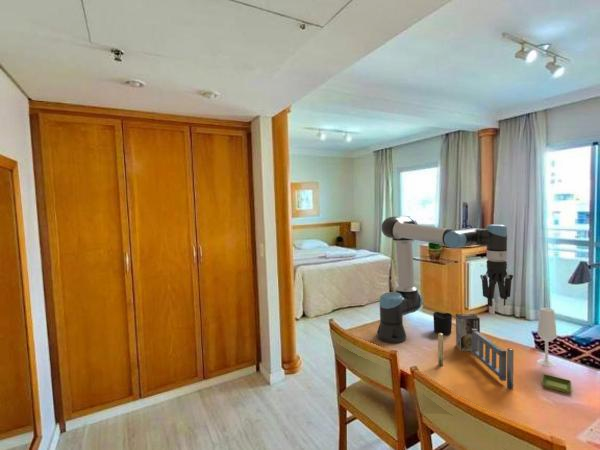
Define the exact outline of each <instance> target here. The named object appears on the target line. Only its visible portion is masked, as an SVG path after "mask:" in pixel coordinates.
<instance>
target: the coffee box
mask: <svg viewBox="0 0 600 450" xmlns="http://www.w3.org/2000/svg"><path fill="white" fill-rule="evenodd" d="M480 322H481V321H480V318H479V317H478V316H477V315H476V313H462V314H461V313H457V314H455V336H456V337H455V345H456V347H457V348H458V349H459V351H462V352H472V329H477V331H478V332H479V333H481V330H480V329H481V328H480V327H481V325H480V324H481V323H480ZM477 351H478V352H479V339H477Z"/></svg>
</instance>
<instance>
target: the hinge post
mask: <svg viewBox="0 0 600 450" xmlns="http://www.w3.org/2000/svg"><path fill="white" fill-rule="evenodd" d="M506 388H507V389H509V390H513V389H514V349H513V348H507V350H506Z"/></svg>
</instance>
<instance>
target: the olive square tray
mask: <svg viewBox="0 0 600 450" xmlns="http://www.w3.org/2000/svg"><path fill="white" fill-rule="evenodd" d="M541 379H542V380H541V383H542V385H543V387H545V388H547V389H551V390H556V391H559V392H561V393H562V392H563V393H565V394H567V393H570V392H571V391H572V381H571V380H570V379H567V378H566V379H565V378H563V377H562V378H561V377H558V376H554V375H549V374H545V373H543V374H542V378H541Z"/></svg>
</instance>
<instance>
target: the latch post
mask: <svg viewBox="0 0 600 450" xmlns="http://www.w3.org/2000/svg"><path fill="white" fill-rule="evenodd" d="M437 341H438V342H437V344H438V345H437V347H438V349H437V351H438V355H437V356H438V357H437V358H438V359H437V360H438V361H437V362H438V366H441V367H442V366H444V335H443V334H442V333H437Z"/></svg>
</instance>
